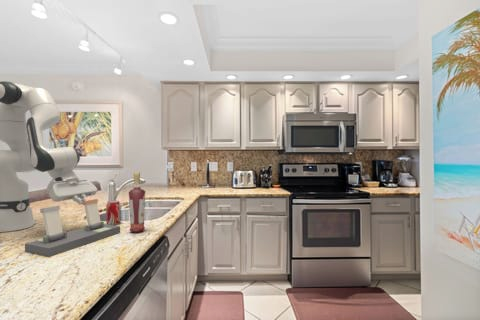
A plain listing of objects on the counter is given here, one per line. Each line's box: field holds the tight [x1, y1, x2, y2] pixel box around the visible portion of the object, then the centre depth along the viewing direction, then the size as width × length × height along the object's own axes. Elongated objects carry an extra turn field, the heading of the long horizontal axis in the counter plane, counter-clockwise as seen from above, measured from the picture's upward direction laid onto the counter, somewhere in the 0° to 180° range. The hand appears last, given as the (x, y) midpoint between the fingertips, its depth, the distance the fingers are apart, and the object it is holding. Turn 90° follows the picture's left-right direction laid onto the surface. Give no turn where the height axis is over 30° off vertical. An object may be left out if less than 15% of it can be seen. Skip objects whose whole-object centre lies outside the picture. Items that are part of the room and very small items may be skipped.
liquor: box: [128, 171, 146, 234], centre depth 120 cm, size 7×7×28 cm
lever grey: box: [39, 205, 64, 241], centre depth 99 cm, size 2×6×13 cm, turn 158°
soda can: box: [105, 200, 122, 226], centre depth 134 cm, size 7×7×12 cm
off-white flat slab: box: [82, 198, 102, 230], centre depth 114 cm, size 2×6×13 cm, turn 158°
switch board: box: [24, 221, 121, 258], centre depth 106 cm, size 14×31×5 cm, turn 158°
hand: (83, 203), depth 117 cm, fingers closed
